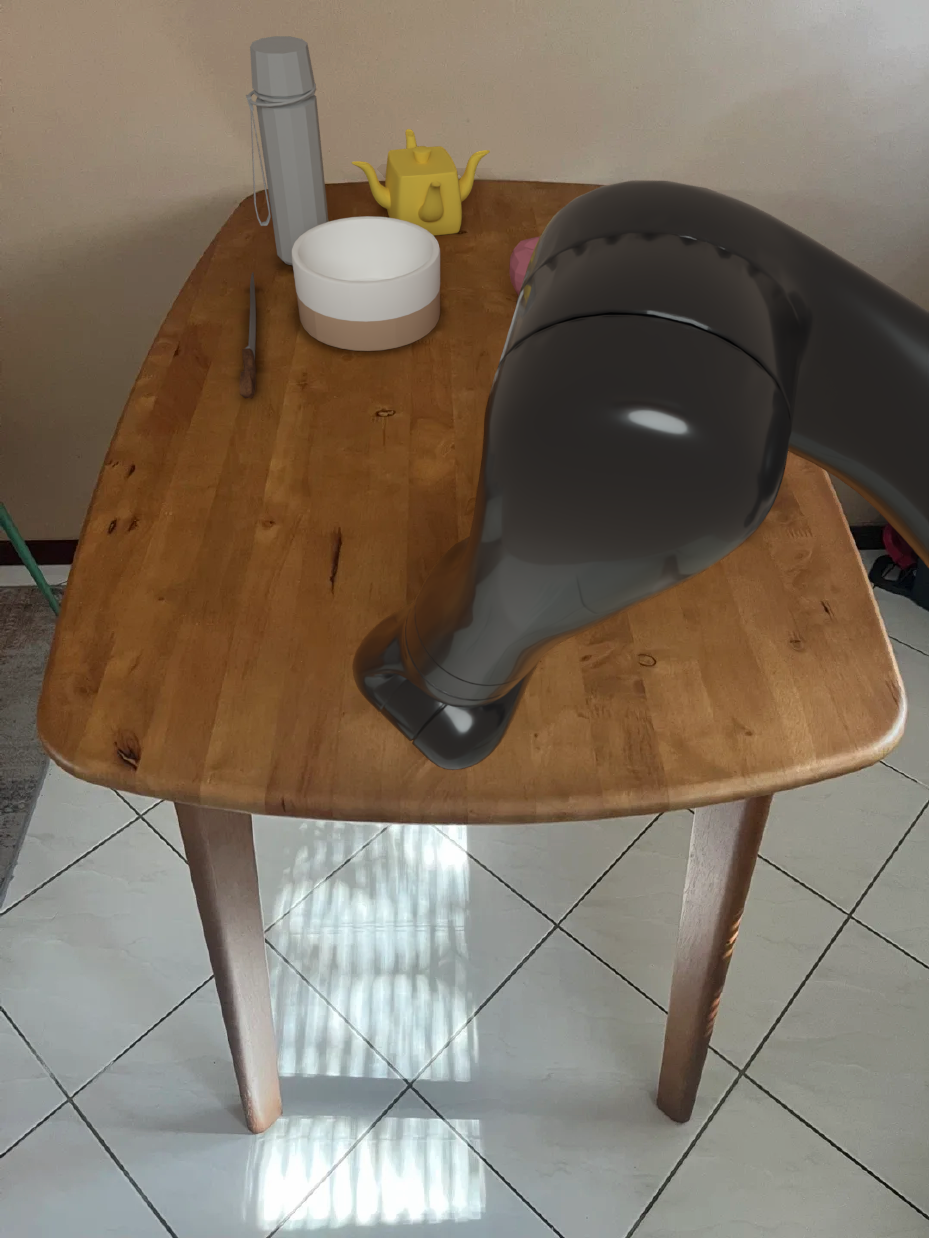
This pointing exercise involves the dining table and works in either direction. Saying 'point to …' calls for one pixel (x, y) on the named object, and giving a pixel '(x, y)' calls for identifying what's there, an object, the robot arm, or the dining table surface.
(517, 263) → the apple
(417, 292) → the bowl
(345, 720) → the dining table surface
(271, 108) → the water bottle
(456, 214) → the teapot
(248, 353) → the knife
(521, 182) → the dining table surface
